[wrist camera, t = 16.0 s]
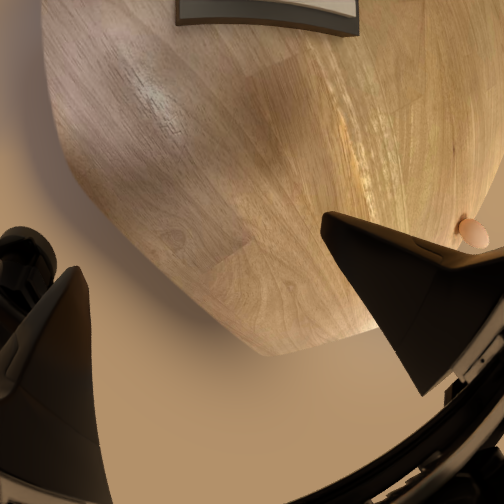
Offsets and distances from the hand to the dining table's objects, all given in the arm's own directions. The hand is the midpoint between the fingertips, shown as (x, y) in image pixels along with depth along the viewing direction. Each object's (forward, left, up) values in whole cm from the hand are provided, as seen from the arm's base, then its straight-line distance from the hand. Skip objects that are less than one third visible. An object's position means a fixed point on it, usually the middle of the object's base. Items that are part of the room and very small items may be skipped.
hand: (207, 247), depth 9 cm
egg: (+48, -15, -13) cm, 52 cm away
